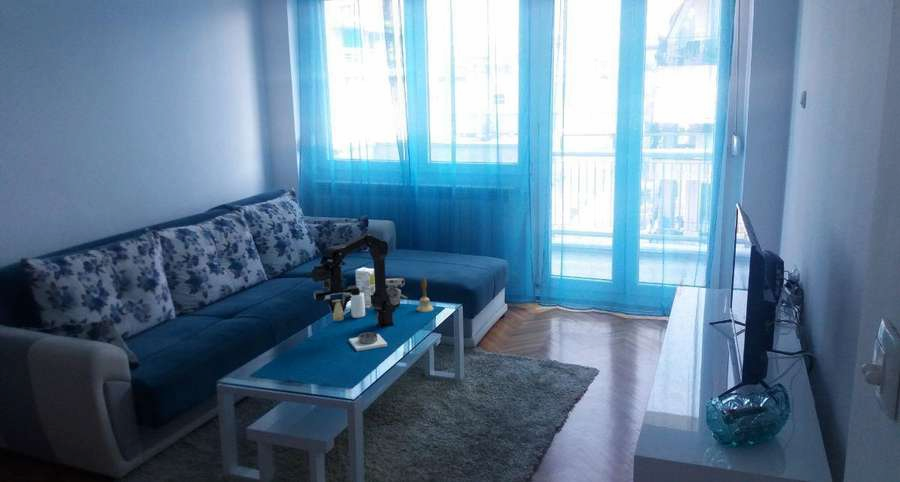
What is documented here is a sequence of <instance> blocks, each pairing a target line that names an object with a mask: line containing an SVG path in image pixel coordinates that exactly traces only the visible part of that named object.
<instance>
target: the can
mask: <svg viewBox="0 0 900 482" xmlns="http://www.w3.org/2000/svg"><path fill="white" fill-rule="evenodd" d="M351 296H352V298H350V311H351V312H350V313H351V317H352V318H353V319H361V318H364V317H365V316H366V308H365V302H364V294H363V291H361V290H360V294H359V295H352V294H351Z"/></svg>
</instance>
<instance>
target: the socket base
mask: <svg viewBox="0 0 900 482" xmlns="http://www.w3.org/2000/svg"><path fill="white" fill-rule="evenodd" d="M376 335H377V340H378V341H377V342H375V343H373V344H360V343H359V342H358V336H357V337H352V338H351V337H350V338H349V339H348V342H349V344H351V346H352V347H353V348H354V349H355V350H356V351H357V352H361V351H367V350H371V349H373V350H374V349H378V348H385V347H388V342H387V341H385V339H384V338H383V337H382V336H381V335H380V334H379V333H376Z"/></svg>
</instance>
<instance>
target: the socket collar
mask: <svg viewBox="0 0 900 482" xmlns="http://www.w3.org/2000/svg"><path fill="white" fill-rule="evenodd" d="M376 334H377V333H376V332H369V331H368V332H362V333H360V334H359V335H357V337H358V342H359V343H360V344H373V343H375V342H377V341H378V340H377V335H376Z"/></svg>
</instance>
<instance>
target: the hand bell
mask: <svg viewBox="0 0 900 482" xmlns="http://www.w3.org/2000/svg"><path fill="white" fill-rule="evenodd" d="M420 288H421V289H422V297H421V298H420V299H419V305H418V307H416V311H417V312H420V313H428V312H432V311H433V310H434V307H433V306H432V305H431V304H432V303H431V302H430V298H429V297H427V280H426V278H425V277H422V278H421V287H420Z"/></svg>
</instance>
